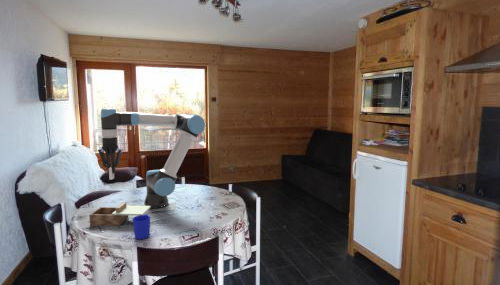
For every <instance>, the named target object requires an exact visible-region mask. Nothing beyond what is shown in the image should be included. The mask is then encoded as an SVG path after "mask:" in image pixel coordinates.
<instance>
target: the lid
mask: <svg viewBox="0 0 500 285" xmlns="http://www.w3.org/2000/svg"><path fill="white" fill-rule="evenodd" d="M150 209H152V208H151V206H144V205H127V202H121V203H120V204H119V205H118V206H116V211H114V212H113V213H112V215H128V216H139V215H145V214H147V213H148V210H150Z"/></svg>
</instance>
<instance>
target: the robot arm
mask: <svg viewBox="0 0 500 285" xmlns="http://www.w3.org/2000/svg"><path fill="white" fill-rule="evenodd" d="M100 121H101V122H100V125H101V137H102V138H101V143H102V146H101V148H99V149H97V152H98V154H99V155H100V159H101V162H102V165H103V167H105V168H106V169H107V174H108V176H109V177H108V178H109V180H113V179H115V173H116V167H119V165H120V161H121V156H122V153H123V152H124V150H123V149H121V148H120V147H119V145H118V128H117V127H119V126H121V127H122V126H123V127H124V126H128V127H129V126H148V127H149V126H151V127H164V128H167V127H168V128H172V129H173V130H179V133H180V134H179V136H178V139H177V140H176V142H175V144H174V146H173V148H172V150H171V152H170V154H169V156H168V158H167V160H166V162H165V164H164V166H163V167H162V168H161V169H152V170H147V171H146V175H145V177H146V180H145V181H146V195H145V199H144V205H143V206H151V208H150V209H156V208H155V207H161V206H164V205H167V204H168V205H169V198H168V196H170V195H172V194H173V193H174V191H175V189H176V180H177V179H178V176H177V173H178V171H179V169H180V167H181V165H182V163H183V162H184V159H185V157H186V155H187V153H188V151H189V149H190V147H191V145H192V143H193V141H194V140H196V139H197V138H198V136H199V135H200V134H201V133H203V132H204V130H205V128H206V122H205V119H204V118H203V117H202V116H201V115H199V114H195V113H192V114H191V113H183V114H182V113H181V114H179V113H178V114H177V113H174V114H171V115H170V114H160V113H145V112H136V111H135V112H134V111H124V110H122V111H121V110H120V111H119V112H118V111H117V110H116V108H102V109H101V110H100ZM168 205H167V206H168ZM164 207H165V206H164ZM161 208H162V207H161Z"/></svg>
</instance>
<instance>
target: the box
mask: <svg viewBox="0 0 500 285" xmlns="http://www.w3.org/2000/svg"><path fill="white" fill-rule="evenodd" d="M116 207H117V206H116ZM116 207H115V206H114V207H113V206H111V207H110V206H109V207H108V206H106V207H105V206H101V207H99V208H97V209H96V210H94V211H93V212H91V213H90V214H89V225H90V226H97V225H100V226H101V227H102V226H105V227H106V226H107V227H110V226H111V227H113V226H114V227H119V226H121V225H122V224H123V223H124V222H126V220H128V218H129V217H130V216H129V215H112V213H113V212H114V211H116ZM100 226H99V227H100Z"/></svg>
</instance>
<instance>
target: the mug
mask: <svg viewBox="0 0 500 285" xmlns="http://www.w3.org/2000/svg"><path fill="white" fill-rule="evenodd" d="M132 225H133V234H134V238H135V239H136V240H145V239H147V238H149V236H150V230H151V229H150V228H151V216H150V215H149V214H148V213H145V214H144V215H139V216H137V215H135V216H133V217H132Z"/></svg>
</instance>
